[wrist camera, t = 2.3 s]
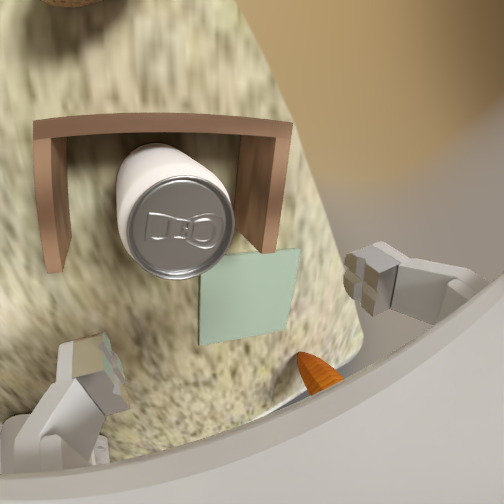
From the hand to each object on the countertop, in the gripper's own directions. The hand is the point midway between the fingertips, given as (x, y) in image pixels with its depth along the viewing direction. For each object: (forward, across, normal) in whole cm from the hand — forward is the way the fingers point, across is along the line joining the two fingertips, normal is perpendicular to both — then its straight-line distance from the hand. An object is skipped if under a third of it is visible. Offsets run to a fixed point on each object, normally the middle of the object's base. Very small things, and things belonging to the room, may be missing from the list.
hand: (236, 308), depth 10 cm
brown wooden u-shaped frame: (+19, 0, 0) cm, 19 cm away
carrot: (+19, -13, +28) cm, 36 cm away
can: (+19, 0, 0) cm, 19 cm away
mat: (+19, -6, +15) cm, 25 cm away
